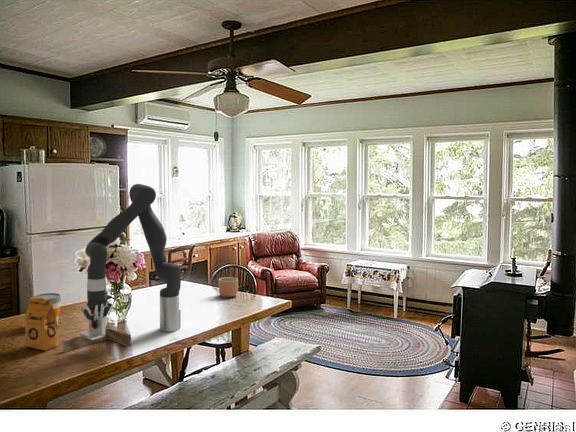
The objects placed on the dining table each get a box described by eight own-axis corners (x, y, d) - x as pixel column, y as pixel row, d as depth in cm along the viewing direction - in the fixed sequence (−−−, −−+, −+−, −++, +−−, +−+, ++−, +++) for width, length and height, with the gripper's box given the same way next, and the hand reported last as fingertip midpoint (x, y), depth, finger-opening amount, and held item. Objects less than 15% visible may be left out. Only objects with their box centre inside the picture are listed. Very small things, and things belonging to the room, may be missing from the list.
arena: (109, 337, 209) (109, 326, 208) (130, 345, 199) (130, 334, 199) (63, 351, 191) (62, 340, 191) (83, 361, 181) (83, 349, 181)
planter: (221, 293, 293) (221, 276, 292) (240, 294, 291) (240, 277, 290) (216, 298, 280) (216, 281, 279) (235, 299, 279) (235, 282, 278)
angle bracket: (105, 336, 190) (105, 318, 190) (92, 340, 186) (91, 321, 185) (92, 331, 196) (92, 313, 196) (79, 334, 191) (79, 316, 191)
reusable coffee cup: (27, 327, 220) (26, 297, 218) (48, 320, 231) (47, 291, 230) (46, 331, 215) (45, 300, 214) (67, 323, 227) (66, 294, 226)
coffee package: (42, 353, 189) (41, 302, 187) (22, 348, 193) (20, 299, 191) (62, 345, 198) (61, 297, 196) (42, 341, 202) (41, 293, 201)
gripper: (86, 292, 183) (86, 333, 185) (116, 286, 194) (116, 325, 196) (76, 290, 188) (77, 330, 189) (106, 284, 199) (106, 322, 200)
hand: (97, 327), depth 192 cm, fingers closed on angle bracket, 1 cm apart
